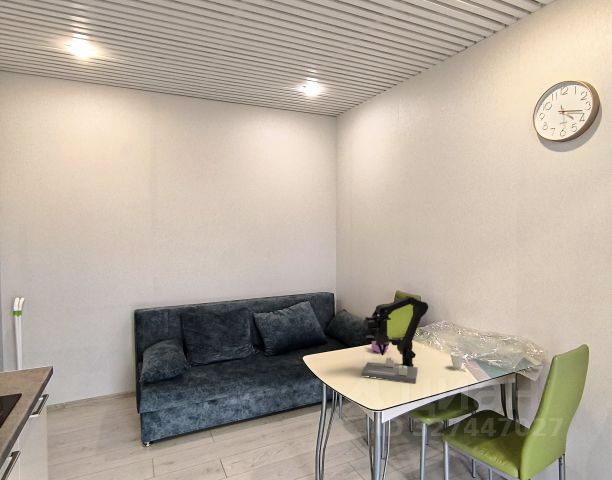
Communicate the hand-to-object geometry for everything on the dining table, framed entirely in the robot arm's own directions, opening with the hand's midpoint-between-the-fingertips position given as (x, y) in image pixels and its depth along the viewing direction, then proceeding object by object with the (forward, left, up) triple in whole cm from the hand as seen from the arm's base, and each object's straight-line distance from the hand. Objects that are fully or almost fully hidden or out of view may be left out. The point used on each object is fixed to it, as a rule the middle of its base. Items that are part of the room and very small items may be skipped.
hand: (382, 355), depth 207 cm
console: (+5, +5, -8) cm, 11 cm away
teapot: (-32, -7, -9) cm, 34 cm away
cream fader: (0, +4, -6) cm, 7 cm away
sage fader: (+10, +12, -5) cm, 17 cm away
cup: (-15, +41, -9) cm, 44 cm away
